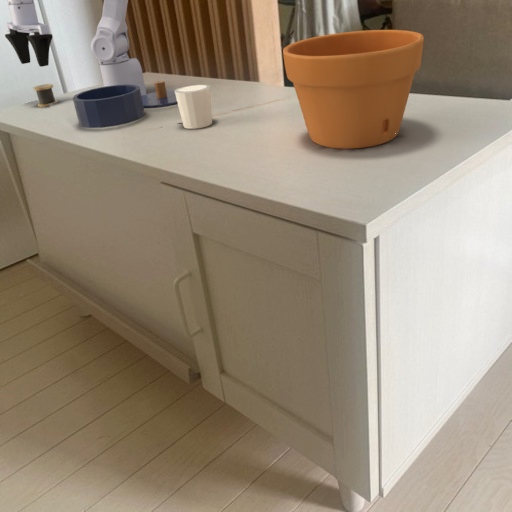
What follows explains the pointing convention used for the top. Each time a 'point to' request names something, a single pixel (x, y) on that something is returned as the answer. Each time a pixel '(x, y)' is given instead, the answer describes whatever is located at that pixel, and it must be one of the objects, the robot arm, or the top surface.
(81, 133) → the top surface
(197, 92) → the white cup
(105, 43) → the robot arm
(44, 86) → the spool
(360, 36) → the flower pot
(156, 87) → the pot lid
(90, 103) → the pot
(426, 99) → the top surface
